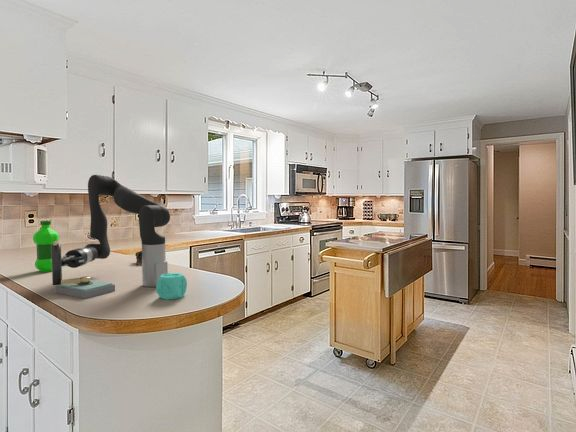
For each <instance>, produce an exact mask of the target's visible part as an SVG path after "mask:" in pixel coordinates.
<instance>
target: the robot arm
mask: <svg viewBox="0 0 576 432" xmlns="http://www.w3.org/2000/svg"><path fill="white" fill-rule="evenodd" d="M87 191H88V192H87V194H88V203H89V210H90V229H89V231H90V232H89V236H90V238H91V239H95V240H97V241H98V242H99V243H87V244H86V245H85V246H83V247H77V248H74V249H71V250H68V251H67V252H66V253H65V255H63V256H61V263H62V267H69V268H71V269H75V268H79V267H82V266H85V265H87V264H88V263H90V262H91V263H92V262H93V261H95V260H97V259H101V260H104V259H108V257H110V254H111V248H110V247H111V246H110V244H109V239H108V218H107V216H106V214H105V211H104V210H103V209H102V207H101V204H100V195H101V196H109V197H112V198H113V202H114V204H115V205H116V206H118V207H119V208H120V209H122V210H124V211H125V212H129V213H131V214H135V215H138V229H139V235H140V237H139V238H140V240H141V251H142V263H141V270H142V273H141V274H142V275H141V276H142V278H141V279H142V286H143V287H146V288H150V287H151V288H152V287H154V288H156V284H157V281H158V279H159V277H160V276H161V275H163V274H168V273H169V271H168V268H169V266H168V261H166V256H167V255H166V237H165V236H164V235H163V234H159V233H157V232H156V228H160V227H161V228H162V227H164V226H167V225H168V224H169V222H170V220H171V213H170V212H169V211H170V210H168V208H167V207H166V206H164V205H163V204H159V203H157V202H154V201H152V200H150V199H148V198H147V197H144V196H143V195H141V194H139V193H138V192H136V191H134V190H132V189H130V188H128V187H126V186H124V185H123V184H121V183H120V182H119V181H117V180H116V179H114V178H113V177H111V176H106V175H101V174H100V175H99V174H92V175H91V176H90V177H89V178H88V181H87ZM51 262H52V258H51Z"/></svg>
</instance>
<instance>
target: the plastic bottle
mask: <svg viewBox="0 0 576 432" xmlns="http://www.w3.org/2000/svg"><path fill="white" fill-rule="evenodd" d="M39 224H40V226H41V228H40V229H39V230H37V231H36V232H35V233H33V236H32V241H33V243H34V244H35V245H36V260H35V262H34V267H35V269H36V270H38V271H39V272H41V273H49V271H50V272H52V262H51V258H52V254H51V245H52V244H53V243H54V242H55V241H58V242H59V240H60V235H59V233H58V232H57V231H56V230H54V229H52V228H51V225H52V222H51V220H41V221H40V222H39Z"/></svg>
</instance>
